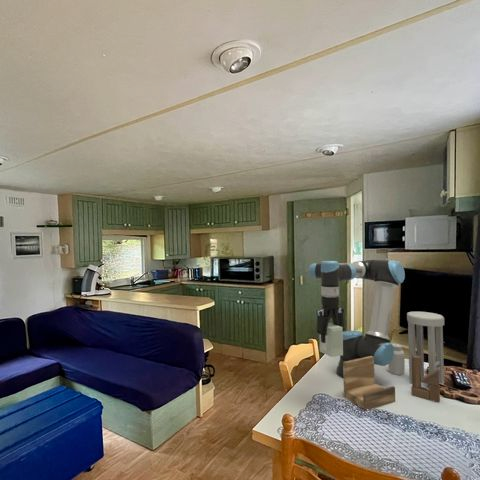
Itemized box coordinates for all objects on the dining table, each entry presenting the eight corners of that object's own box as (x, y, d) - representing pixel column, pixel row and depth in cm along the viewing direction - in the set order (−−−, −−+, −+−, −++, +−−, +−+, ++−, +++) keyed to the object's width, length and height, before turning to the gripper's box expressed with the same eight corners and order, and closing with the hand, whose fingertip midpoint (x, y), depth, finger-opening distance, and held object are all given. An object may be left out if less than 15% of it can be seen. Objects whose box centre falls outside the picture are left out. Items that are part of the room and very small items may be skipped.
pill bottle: (398, 376, 154) (398, 348, 155) (385, 371, 161) (384, 344, 162) (408, 373, 158) (407, 346, 158) (394, 368, 165) (393, 341, 165)
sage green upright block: (319, 351, 129) (319, 324, 129) (330, 349, 131) (329, 322, 132) (332, 357, 121) (331, 328, 122) (343, 355, 124) (342, 327, 124)
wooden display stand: (343, 396, 133) (343, 361, 134) (372, 389, 141) (371, 355, 141) (365, 410, 122) (365, 372, 122) (395, 401, 129) (394, 365, 129)
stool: (403, 382, 147) (401, 313, 148) (416, 375, 156) (415, 310, 157) (437, 395, 134) (435, 319, 136) (450, 385, 143) (448, 315, 145)
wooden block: (439, 402, 128) (438, 361, 128) (411, 395, 135) (410, 356, 135) (440, 399, 131) (438, 359, 131) (412, 392, 137) (411, 354, 138)
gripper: (318, 298, 120) (319, 355, 119) (352, 295, 127) (353, 348, 127) (307, 296, 127) (308, 349, 126) (340, 293, 134) (341, 343, 134)
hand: (331, 348), depth 126 cm, fingers closed on sage green upright block, 6 cm apart
